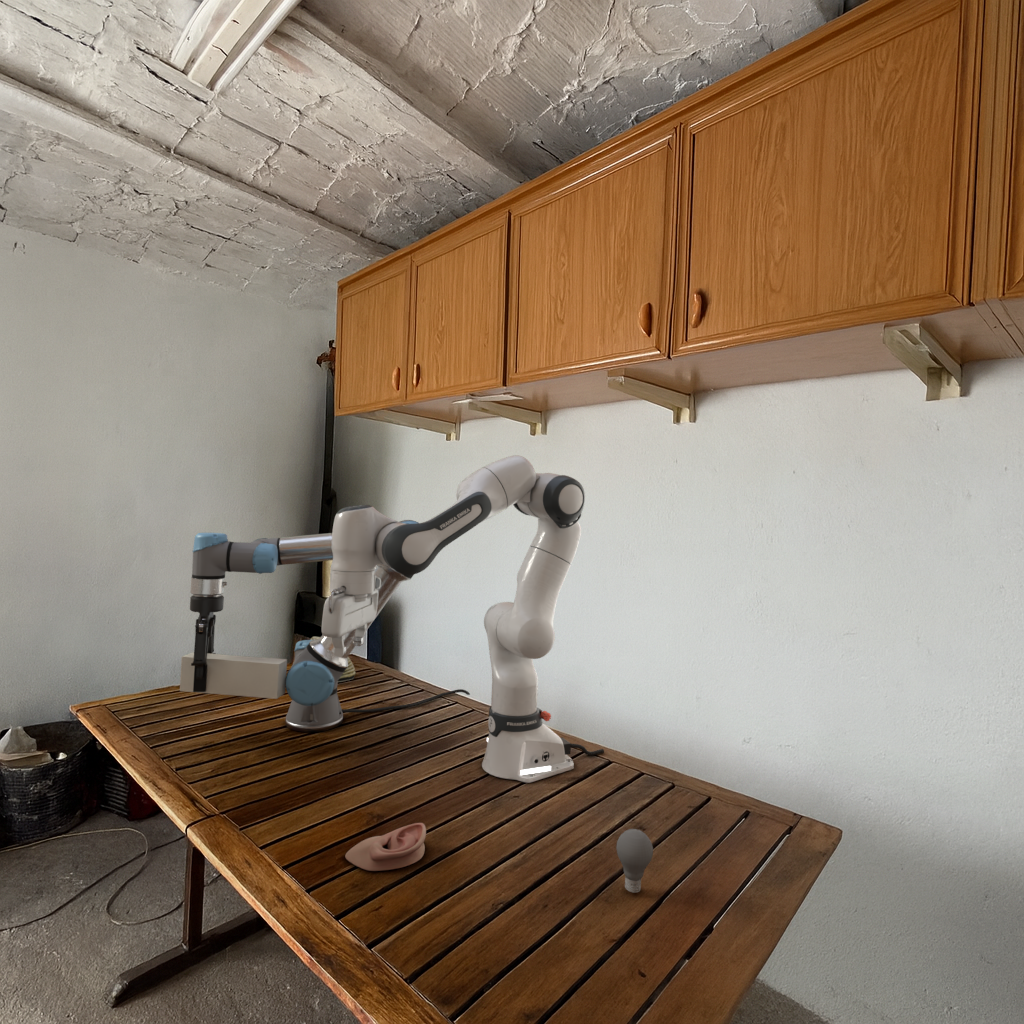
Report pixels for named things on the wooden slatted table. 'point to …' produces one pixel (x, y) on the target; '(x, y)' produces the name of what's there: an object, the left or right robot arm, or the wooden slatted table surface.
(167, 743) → the wooden slatted table surface
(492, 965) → the wooden slatted table surface
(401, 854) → the anatomical model
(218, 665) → the bar
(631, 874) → the light bulb
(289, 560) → the left robot arm
